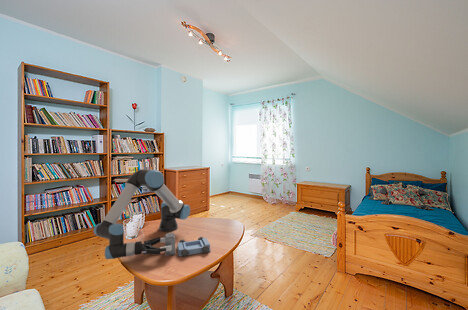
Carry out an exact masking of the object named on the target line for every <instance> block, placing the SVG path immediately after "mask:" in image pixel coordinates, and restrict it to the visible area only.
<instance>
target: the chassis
mask: <svg viewBox="0 0 468 310" xmlns="http://www.w3.org/2000/svg"><path fill="white" fill-rule="evenodd" d="M176 245H177V253H178V257H183V258H184V257H188V256H192V255H197V254H202V253H203V254H208V253H209V252H211V243H210V242H209V240H208V238H207V237H203V236H199V237H198V238H197V239H196V240H190V241H189V240H187V241H186V240H185V239H180V240H179V241H178V242H177V244H176Z"/></svg>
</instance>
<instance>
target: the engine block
mask: <svg viewBox="0 0 468 310" xmlns="http://www.w3.org/2000/svg"><path fill="white" fill-rule="evenodd" d="M164 238H165V242H164V247H165V246H172V250H171V251H165V252H164V256H165V257H168V256H174V255H175V256H176V235H175V233H174V232H166V234H165V235H164Z"/></svg>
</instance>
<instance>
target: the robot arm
mask: <svg viewBox="0 0 468 310" xmlns="http://www.w3.org/2000/svg"><path fill="white" fill-rule="evenodd" d="M124 184H125V186H124V188H123V189H122V190H121V192H120V194H119V195H118V197H117V198H116V200H115V202H114V203H113V204H112V206H111V207H110V209H109V210H108V212H107V214H106V215H105V217H104V218H103V220H102V222H100V223H97V224H96V225H95V226H94V227H93V234H94V235H96V236H97V237H99V238H102V239H107V240H108V242H109V244H108V245H106V246H105V248H104V258H105V259H106V260H111V259H113V260H115V259H120V258H126V257H131V256H139V255H161V253H165V251H171V250H172V246H165V245H164V246H161V247H156V246H155V245H157V244H159V243H160V244H163V243H165V237H160V236H158V237H154V238H152V239H148V240H143V242H142V241H136V242H135V241H132V242H126V243H125V242H124V241H125V239H124V237H125V235H124V233H125V230H124V225H123V223H119V222H118V221H119V219H120V218H121V216H122V214H123V212H124V211H125V209H126V208H127V206H128V204H129V202H130V201H131V199H132V198H133V197H134V195H135V193H136V192H137V191H139V189H140V188H141V187H146V188H147V189H148V190H149V191H150V192H151V193H154V194H155V195H156V196H158V197H159V198H160V199H161V201H162V202H161V205H160V215H161V216H160V223H159V225H158V229H159V231H160V232H166V233H169V232H173V231H175V230H176V231H177V229H178V228H179V227H178V226H179V225H178V221H177V219H179V220H186V219H188V217H189V216H190V214H191V207H190V205H189V204H185V203H184V202H183V201H182V200H180V199H178V198H177V197H176V196H175V195H174V193H173V192H172V191H171V190H170V189H169V188H168V187H167V185H165V178H164V174H163V172H161V171H159V170H156V169H139V170H136V171H135V172H133V173H132V174H131V175H130V177H129V178H128V179H127V180H126V182H125V183H124ZM117 222H118V223H117Z"/></svg>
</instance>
